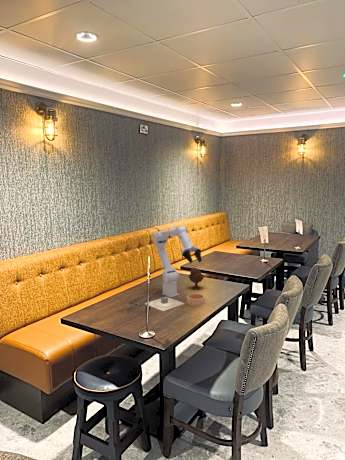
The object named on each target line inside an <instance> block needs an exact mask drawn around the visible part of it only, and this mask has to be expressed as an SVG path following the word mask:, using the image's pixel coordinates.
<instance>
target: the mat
mask: <svg viewBox="0 0 345 460" xmlns="http://www.w3.org/2000/svg"><path fill="white" fill-rule="evenodd" d="M165 297H166V298H168V299H171V300H174V301H175V302H176V304H175V305H174V306H171V307H166V308H162V307H156V306H154V305H153V302H154V301H156V300H159V299H161V298H162V297H160V298H158V299H154V300H151V301H148V302H149V305H147V303H148V302H145V303H144V305H147V306H149V307H152V308H154V309H157V310H159V311H161V312H165V311H167V310H170V309H174V308H176V307H179V306H182V305H184V304H186V303H185V302H183V301H179V300H177V299H173V298H172V297H169V296H165Z"/></svg>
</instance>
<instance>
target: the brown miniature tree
mask: <svg viewBox="0 0 345 460" xmlns="http://www.w3.org/2000/svg"><path fill="white" fill-rule="evenodd" d="M189 273H190V274H188V279H189V280H190V281H191V283H194V286H192V289H193V290H200V289H201V287H200V286H198V283H201V282H202V281H203V280H204V277H205V275H204V274H203V273H202V271H201V270H200V269H198V268H197V267H193V268H191V269H190V271H189Z"/></svg>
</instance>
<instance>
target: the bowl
mask: <svg viewBox="0 0 345 460" xmlns="http://www.w3.org/2000/svg"><path fill="white" fill-rule="evenodd" d="M186 303H187V304H188V305H189V306H194V307H199V306H203V305H206V295H205V294H202V293H190V294H188V295H187V296H186Z"/></svg>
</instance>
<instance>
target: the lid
mask: <svg viewBox="0 0 345 460" xmlns="http://www.w3.org/2000/svg"><path fill="white" fill-rule="evenodd" d="M166 297H167V296H163V297H160V298H161V299H160V298H158V299H159V300H157V299H155V300H156V301H154V300H153V301H154V302H153V305H154V306H156V307H162V308H166V307H171V306H174V305H175V304H176V302H175V301H174V300H175V299H174V300H171V299H172V298H171V299H168V298H169V297H168V298H166Z"/></svg>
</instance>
